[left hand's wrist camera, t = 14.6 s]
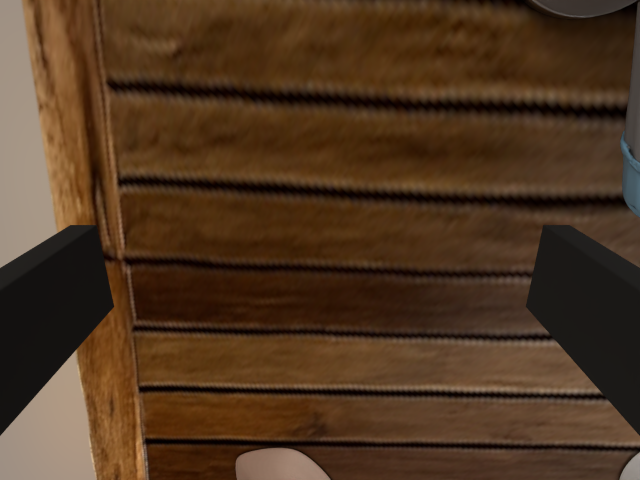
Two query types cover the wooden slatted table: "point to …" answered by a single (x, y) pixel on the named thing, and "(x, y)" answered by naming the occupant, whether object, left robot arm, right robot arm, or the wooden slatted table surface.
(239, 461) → the anatomical model
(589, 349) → the left robot arm
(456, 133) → the wooden slatted table surface
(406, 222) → the wooden slatted table surface
